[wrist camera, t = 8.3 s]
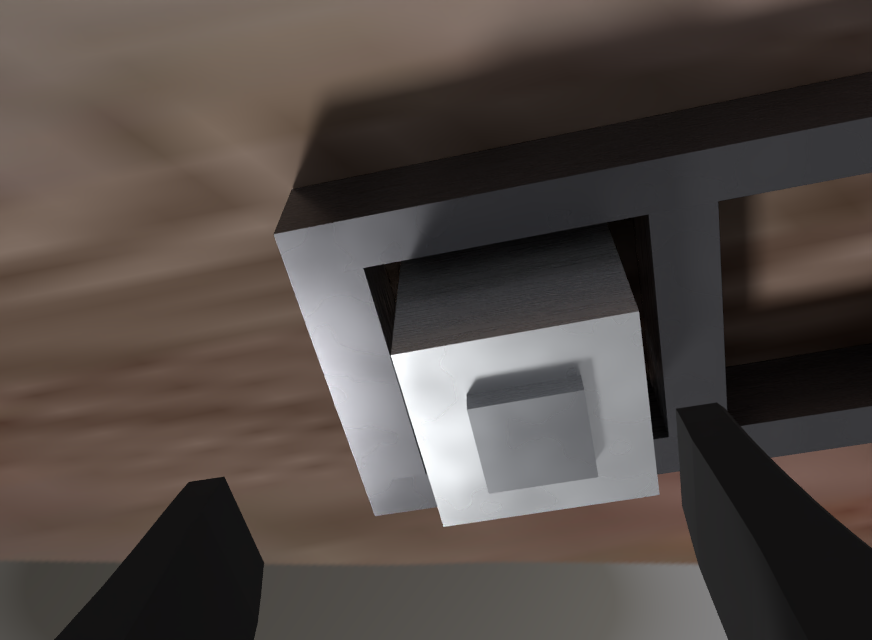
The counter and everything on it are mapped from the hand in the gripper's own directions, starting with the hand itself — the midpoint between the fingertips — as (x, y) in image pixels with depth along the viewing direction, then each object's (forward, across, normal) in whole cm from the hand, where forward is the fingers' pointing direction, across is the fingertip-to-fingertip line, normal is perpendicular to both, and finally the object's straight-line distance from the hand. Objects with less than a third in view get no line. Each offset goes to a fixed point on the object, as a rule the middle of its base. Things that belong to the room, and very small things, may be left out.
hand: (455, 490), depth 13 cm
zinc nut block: (+10, -1, +2) cm, 10 cm away
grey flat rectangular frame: (+10, -5, +3) cm, 11 cm away
